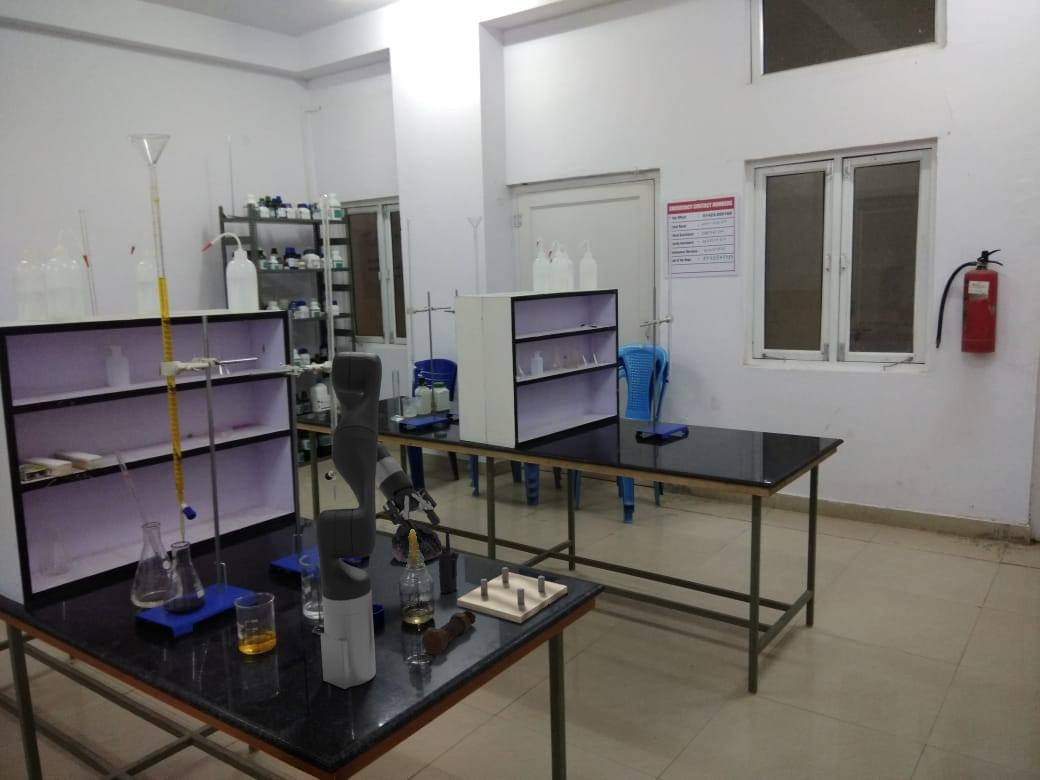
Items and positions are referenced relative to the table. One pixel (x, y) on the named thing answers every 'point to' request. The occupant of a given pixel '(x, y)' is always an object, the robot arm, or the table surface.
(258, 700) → the table surface
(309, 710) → the table surface
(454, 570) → the two-way radio
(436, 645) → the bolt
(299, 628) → the table surface
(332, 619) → the robot arm
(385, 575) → the table surface
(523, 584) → the peg cradle
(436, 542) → the crystal cluster
